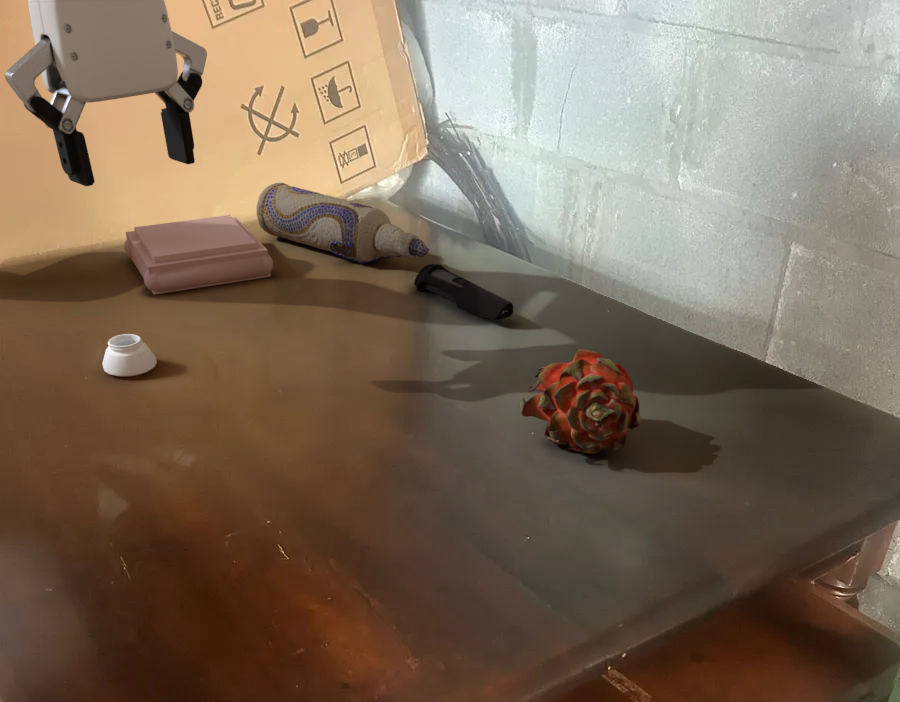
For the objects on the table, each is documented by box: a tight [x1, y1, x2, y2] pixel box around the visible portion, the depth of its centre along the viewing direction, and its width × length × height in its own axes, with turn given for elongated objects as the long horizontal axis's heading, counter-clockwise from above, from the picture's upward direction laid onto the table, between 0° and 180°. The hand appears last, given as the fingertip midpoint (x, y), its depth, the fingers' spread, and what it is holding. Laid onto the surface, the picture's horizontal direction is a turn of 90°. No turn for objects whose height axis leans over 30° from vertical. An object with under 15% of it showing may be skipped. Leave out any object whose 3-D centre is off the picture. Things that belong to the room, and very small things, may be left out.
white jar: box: [101, 333, 158, 378], centre depth 89 cm, size 5×3×5 cm
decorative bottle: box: [256, 182, 430, 265], centre depth 114 cm, size 26×8×7 cm, turn 52°
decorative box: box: [123, 214, 274, 296], centre depth 111 cm, size 15×15×4 cm
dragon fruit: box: [519, 348, 643, 455], centre depth 76 cm, size 8×8×12 cm
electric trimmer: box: [413, 263, 514, 321], centre depth 101 cm, size 4×16×3 cm, turn 36°
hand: (133, 171), depth 78 cm, fingers open, 9 cm apart
